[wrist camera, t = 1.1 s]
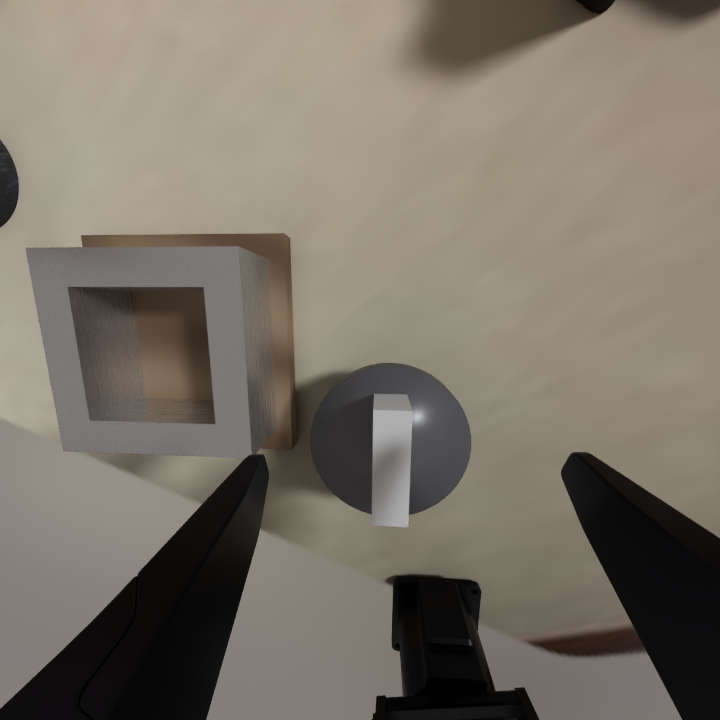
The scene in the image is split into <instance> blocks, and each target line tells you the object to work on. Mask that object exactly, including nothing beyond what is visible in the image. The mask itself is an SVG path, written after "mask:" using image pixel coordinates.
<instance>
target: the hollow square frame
mask: <svg viewBox="0 0 720 720" xmlns="http://www.w3.org/2000/svg"><path fill="white" fill-rule="evenodd" d="M26 253H27V259H28V264H29V269H30V275H31V280H32V285H33V291H34V296H35V301H36V307H37V312H38V317H39V323H40V328H41V334H42V339H43V344H44V350H45V355H46V360H47V366H48V371H49V376H50V382H51V387H52V392H53V398H54V403H55V408H56V414H57V419H58V424H59V430H60V435H61V440H62V446H63V451H73V452H99V453H126V454H152V455H179V456H205V457H232V458H246V457H247V456H249V455H251V454H256V453H257V452H258V451H259V449H260V448H261V447H262V446H263V445H264V443H265V442H266V441H267V440H268V439H269V437H270V436H271V435H272V434H273V433H274V432H275V430H276V429H277V418H276V397H275V376H274V355H273V334H272V313H271V292H270V270H269V259H267V258H264V257H262V256H260V255H257V254H255V253H253V252H250V251H248V250H246V249H243V248H241V247H239V246H212V247H74V248H26ZM132 291H204V297H205V308H206V320H207V331H208V343H209V354H210V366H211V377H212V389H213V400H188V399H149V398H146V395H145V387H144V380H143V372H142V364H141V356H140V349H139V341H138V333H137V325H136V318H135V310H134V302H133V294H132Z"/></svg>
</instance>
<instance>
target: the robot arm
mask: <svg viewBox="0 0 720 720" xmlns="http://www.w3.org/2000/svg"><path fill="white" fill-rule="evenodd" d="M561 476H562V479H563V482H564V484H565V487H566V489H567V492H568V494H569V496H570V499H571V501H572V504H573V506H574V509H575V511H576V514H577V516H578V518H579V521H580V523H581V525H582V528H583V530H584V532H585V534H586V536H587V538H588V540H589V542H590V544H591V546H592V548H593V550H594V552H595V553H596V555H597V557H598V559H599V561H600V563H601V565H602V567H603V569H604V571H605V573H606V575H607V576H608V578H609V580H610V582H611V584H612V586H613V588H614V590H615V592H616V594H617V596H618V597H619V599H620V601H621V603H622V605H623V607H624V609H625V611H626V613H627V615H628V617H629V619H630V620H631V622H632V624H633V626H634V628H635V630H636V632H637V634H638V636H639V638H640V640H641V641H642V643H643V645H644V647H645V649H646V651H647V653H648V655H649V656H650V659H651V661H652V662H653V664H654V666H655V668H656V670H657V672H658V674H659V676H660V678H661V680H662V682H663V684H664V686H665V687H666V689H667V691H668V693H669V695H670V697H671V699H672V701H673V702H674V705H675V706H676V708H677V710H678V712H679V714H680V716H681V718H682V720H720V538H719V537H717V536H716V535H714V534H713V533H711V532H709V531H708V530H706V529H705V528H703V527H702V526H700V525H699V524H697V523H696V522H694V521H693V520H691V519H690V518H688V517H686V516H685V515H683V514H682V513H680V512H679V511H677V510H676V509H674V508H673V507H671V506H670V505H668V504H667V503H665V502H664V501H662V500H660V499H659V498H657V497H656V496H654V495H653V494H651V493H650V492H648V491H647V490H645V489H644V488H642V487H641V486H639V485H637V484H636V483H634V482H633V481H631V480H630V479H628V478H627V477H625V476H624V475H622V474H621V473H619V472H618V471H616V470H615V469H613V468H611V467H610V466H608V465H607V464H605V463H604V462H602V461H601V460H599V459H598V458H596V457H595V456H593V455H591V454H590V453H587V452H573V453H571V454H570V456H569V457H568V459H567V461H566V463H565V464H564V466H563V468H562V470H561ZM268 480H269V472H268V468H267V464H266V460H265V457H264V455H262V454H251V455H249V456H247V457H246V458H245V459H244V460H243V461H242V462H241V464H240V465H239V466H238V467H237V468H236V469H235V470H234V471H233V472H232V473H231V474H230V475H229V476H228V477H227V479H226V480H225V481H224V482H223V483H222V484H221V485H220V486H219V487H218V488H217V489H216V490H215V491H214V492H213V494H212V495H211V496H210V497H209V498H208V499H207V500H206V501H205V502H204V503H203V504H202V505H201V506H200V507H199V508H198V510H197V511H196V512H195V513H194V514H193V515H192V516H191V517H190V518H189V519H188V521H186V522H185V524H184V525H183V526H182V527H181V528H180V529H179V530H178V531H177V532H176V533H175V534H174V535H173V536H172V537H171V538H170V540H169V541H168V542H167V543H166V544H165V545H164V546H163V547H162V548H161V549H160V550H159V551H158V552H157V553H156V555H155V556H154V557H153V558H152V559H151V560H150V561H149V562H148V563H147V564H146V565H145V566H144V567H143V568H142V569H141V571H140V572H139V573H138V576H136V577H134V578H133V579H132V580H131V581H130V582H129V583H128V584H127V585H126V586H125V587H124V589H123V590H122V591H121V592H120V593H119V594H118V595H117V596H116V597H115V598H114V599H113V600H112V601H111V602H110V603H109V604H108V605H107V606H106V607H105V608H104V610H102V612H101V613H100V614H99V615H98V616H97V617H96V618H95V619H94V620H93V621H92V622H91V623H90V624H89V625H88V626H87V627H86V628H85V629H84V630H83V631H81V632H80V633H79V634H78V635H77V636H76V637H75V638H74V639H73V640H72V641H71V642H70V643H69V644H68V645H67V646H66V647H65V648H64V649H63V650H62V651H61V652H60V653H59V654H58V655H57V656H56V657H55V658H54V659H53V660H51V662H49V663H48V664H47V665H46V666H45V667H44V668H43V669H42V670H41V671H40V672H39V673H38V674H37V675H36V676H35V677H33V678H32V679H31V680H30V682H28V683H27V684H26V685H25V686H24V687H23V688H22V689H21V690H20V691H19V692H18V693H17V694H16V695H15V696H14V697H12V698H11V699H10V700H9V701H8V702H7V703H6V704H5V705H4V706H3V707H2V708H1V709H0V720H206V718H207V715H208V711H209V708H210V704H211V701H212V697H213V694H214V690H215V687H216V683H217V680H218V676H219V673H220V669H221V666H222V662H223V658H224V655H225V652H226V648H227V645H228V641H229V638H230V634H231V631H232V627H233V624H234V620H235V617H236V613H237V610H238V606H239V602H240V599H241V596H242V592H243V589H244V585H245V582H246V578H247V574H248V571H249V568H250V564H251V560H252V557H253V554H254V550H255V547H256V543H257V539H258V535H259V531H260V526H261V520H262V514H263V509H264V503H265V497H266V491H267V486H268ZM399 584H401V585H399ZM472 589H474V590H472ZM480 599H481V589H480V586H479V584H478V583H477V582H474V581H460V580H444V579H428V578H411V577H397V578H395V579H394V582H393V613H392V648H393V649H394V650H396V651H400V658H401V674H402V691H403V697H388V698H386V696H385V695H383V696H377V698H376V712H375V713H374V714H373V719H372V720H539V718H538V716H537V714H536V712H535V710H534V707H533V705H532V703H531V701H530V699H529V697H528V695H527V692H526V690H525V688H523V687H522V688H515V690H510V691H496V690H495V687H494V684H493V680H492V677H491V674H490V671H489V667H488V664H487V661H486V658H485V654H484V651H483V647H482V644H481V641H480V638H479V634H478V632H477V631H478V620H479V610H480Z"/></svg>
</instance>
